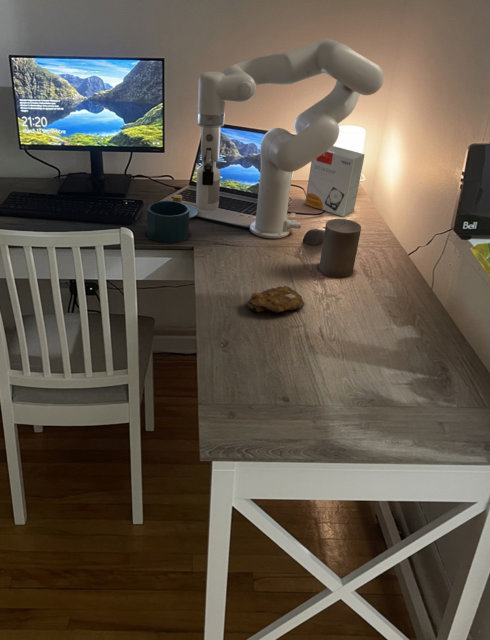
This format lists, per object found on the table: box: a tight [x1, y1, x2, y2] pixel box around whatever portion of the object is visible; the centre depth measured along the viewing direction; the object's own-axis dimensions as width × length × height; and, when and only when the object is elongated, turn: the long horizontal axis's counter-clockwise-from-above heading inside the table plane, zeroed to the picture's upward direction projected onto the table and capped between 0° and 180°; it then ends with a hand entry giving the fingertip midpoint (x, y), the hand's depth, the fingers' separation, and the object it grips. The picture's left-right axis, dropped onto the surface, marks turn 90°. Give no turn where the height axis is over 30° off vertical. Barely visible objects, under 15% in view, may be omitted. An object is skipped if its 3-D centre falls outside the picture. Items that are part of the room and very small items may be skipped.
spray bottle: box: [195, 149, 221, 211], centre depth 200 cm, size 7×7×18 cm
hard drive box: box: [304, 145, 366, 218], centre depth 227 cm, size 16×8×20 cm, turn 49°
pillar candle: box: [318, 218, 362, 278], centre depth 189 cm, size 10×10×15 cm
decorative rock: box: [246, 285, 305, 314], centre depth 172 cm, size 11×4×15 cm
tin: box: [146, 200, 190, 244], centre depth 207 cm, size 13×13×8 cm
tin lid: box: [172, 194, 199, 220], centre depth 222 cm, size 14×14×6 cm
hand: (208, 180), depth 200 cm, fingers closed on spray bottle, 6 cm apart
